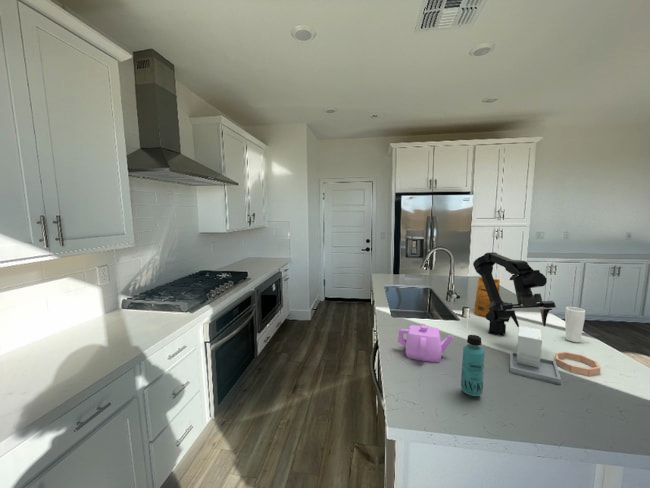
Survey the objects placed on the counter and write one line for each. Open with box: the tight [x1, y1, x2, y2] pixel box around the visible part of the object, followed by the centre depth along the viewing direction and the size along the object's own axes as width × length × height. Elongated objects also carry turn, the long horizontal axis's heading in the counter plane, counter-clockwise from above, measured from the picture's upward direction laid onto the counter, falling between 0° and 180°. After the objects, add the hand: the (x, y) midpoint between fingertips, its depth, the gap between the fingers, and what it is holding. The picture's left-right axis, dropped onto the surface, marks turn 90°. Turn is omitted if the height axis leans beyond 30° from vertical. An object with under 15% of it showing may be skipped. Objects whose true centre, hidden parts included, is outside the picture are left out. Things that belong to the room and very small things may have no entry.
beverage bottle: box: [460, 334, 486, 397], centre depth 92 cm, size 6×7×20 cm
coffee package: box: [473, 276, 501, 318], centre depth 164 cm, size 10×12×22 cm
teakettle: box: [397, 323, 454, 363], centre depth 120 cm, size 17×17×12 cm
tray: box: [509, 351, 562, 386], centre depth 108 cm, size 15×15×2 cm
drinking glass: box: [564, 306, 586, 343], centre depth 130 cm, size 7×7×15 cm
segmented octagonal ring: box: [553, 351, 601, 377], centre depth 109 cm, size 13×13×2 cm
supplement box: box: [516, 325, 543, 368], centre depth 110 cm, size 7×7×13 cm
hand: (531, 326), depth 119 cm, fingers open, 9 cm apart
